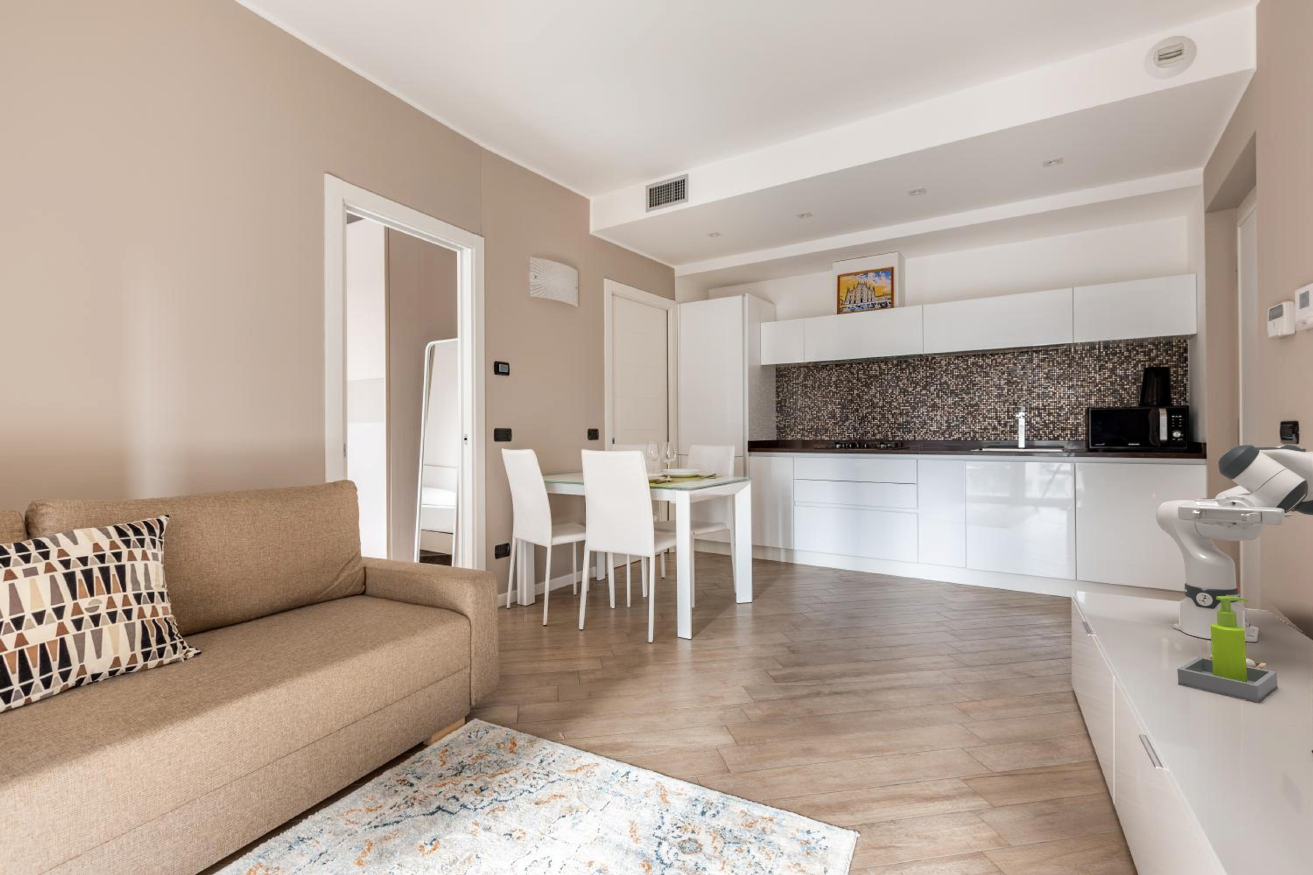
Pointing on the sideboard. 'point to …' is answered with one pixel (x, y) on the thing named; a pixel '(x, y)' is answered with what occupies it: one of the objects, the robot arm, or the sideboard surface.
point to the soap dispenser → (1228, 643)
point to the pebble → (1250, 663)
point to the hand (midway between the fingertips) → (1219, 516)
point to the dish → (1227, 681)
